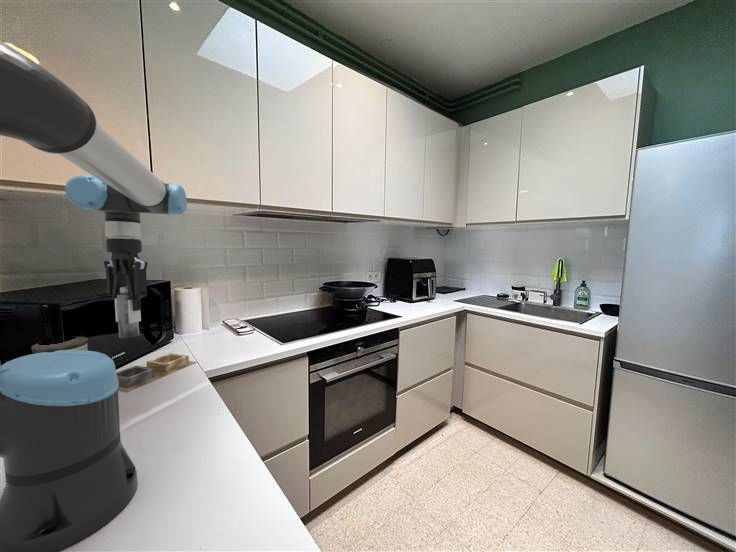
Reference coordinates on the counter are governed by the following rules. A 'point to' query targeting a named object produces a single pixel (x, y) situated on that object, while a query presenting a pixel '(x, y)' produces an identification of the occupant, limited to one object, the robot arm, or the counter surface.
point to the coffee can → (62, 346)
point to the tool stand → (151, 371)
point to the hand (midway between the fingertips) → (128, 321)
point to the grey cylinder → (125, 316)
